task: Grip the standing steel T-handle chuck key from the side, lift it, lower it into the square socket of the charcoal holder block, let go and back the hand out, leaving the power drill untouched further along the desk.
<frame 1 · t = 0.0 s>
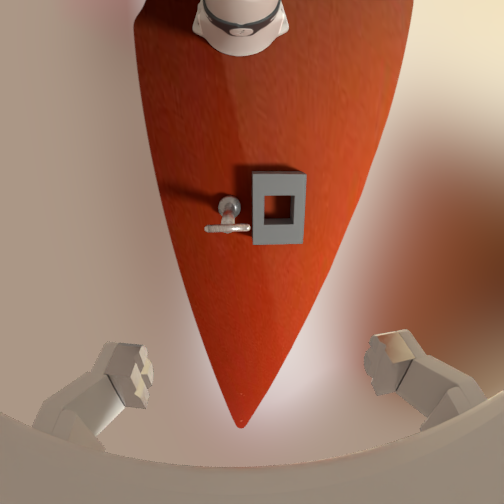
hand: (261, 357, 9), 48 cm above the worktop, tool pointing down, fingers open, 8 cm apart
chuck key: (229, 205, 55), on the worktop
key holder: (276, 204, 56), on the worktop
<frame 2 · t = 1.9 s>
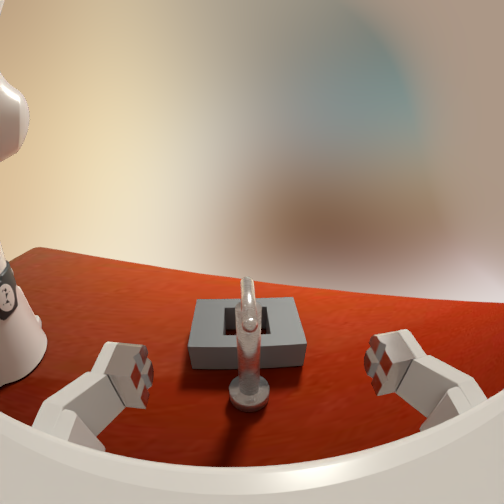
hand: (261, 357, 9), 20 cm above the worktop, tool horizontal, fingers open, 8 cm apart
chuck key: (249, 396, 28), on the worktop
key holder: (246, 342, 37), on the worktop
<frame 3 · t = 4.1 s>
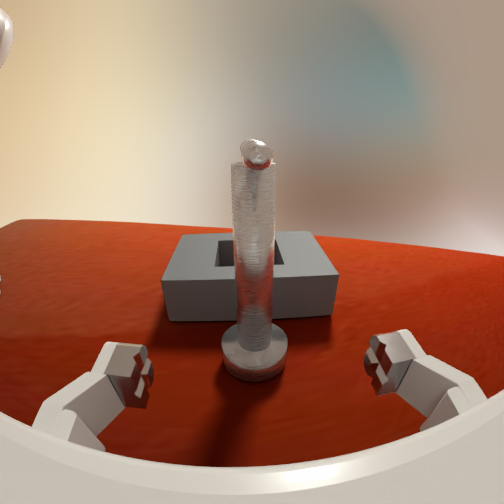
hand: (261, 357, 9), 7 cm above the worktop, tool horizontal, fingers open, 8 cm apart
chuck key: (254, 358, 19), on the worktop
key holder: (248, 288, 27), on the worktop
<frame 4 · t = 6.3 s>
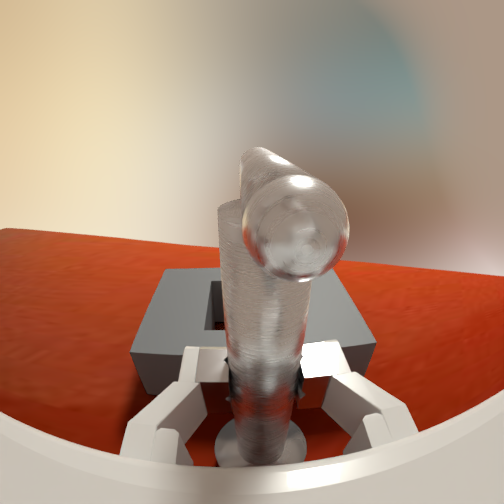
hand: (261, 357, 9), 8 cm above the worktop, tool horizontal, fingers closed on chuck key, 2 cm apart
chuck key: (260, 458, 11), on the worktop, touching gripper
key holder: (251, 344, 20), on the worktop
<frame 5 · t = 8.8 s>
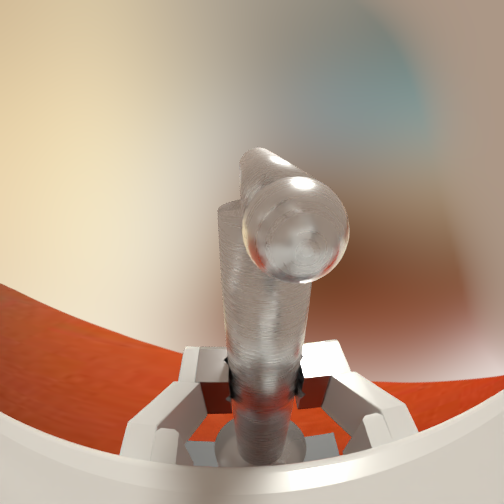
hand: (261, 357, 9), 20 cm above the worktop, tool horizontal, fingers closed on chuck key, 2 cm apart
chuck key: (259, 459, 11), point 12 cm above the worktop, touching gripper
key holder: (257, 500, 16), on the worktop
when the fingers open (9 cm above the worktop, at t = 11.3 s): chuck key drops 1 cm, resting in key holder.
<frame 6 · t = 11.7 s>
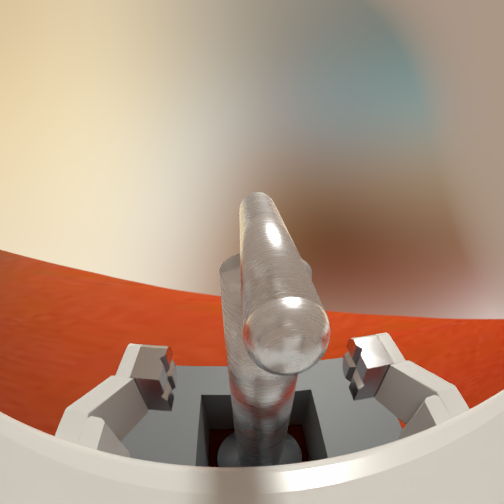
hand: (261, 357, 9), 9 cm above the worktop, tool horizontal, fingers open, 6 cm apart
chuck key: (259, 467, 12), resting in key holder
key holder: (259, 466, 12), on the worktop
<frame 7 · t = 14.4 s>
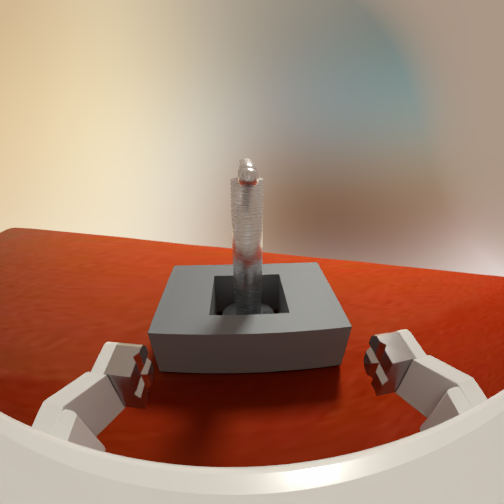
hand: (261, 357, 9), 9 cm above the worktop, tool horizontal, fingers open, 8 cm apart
chuck key: (248, 330, 24), resting in key holder
key holder: (248, 330, 24), on the worktop
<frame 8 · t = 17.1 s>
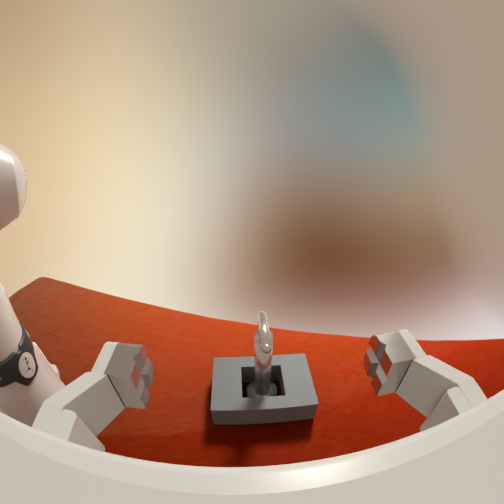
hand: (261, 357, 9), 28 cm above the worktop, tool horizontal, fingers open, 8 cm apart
chuck key: (261, 396, 37), resting in key holder
key holder: (261, 396, 37), on the worktop
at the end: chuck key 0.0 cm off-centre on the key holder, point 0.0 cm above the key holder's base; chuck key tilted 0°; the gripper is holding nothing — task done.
